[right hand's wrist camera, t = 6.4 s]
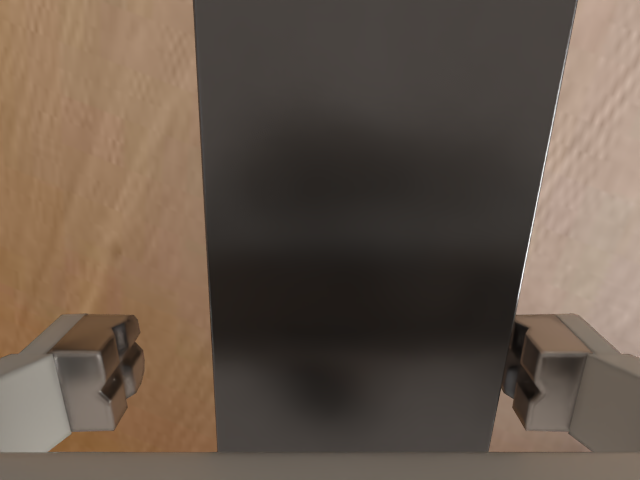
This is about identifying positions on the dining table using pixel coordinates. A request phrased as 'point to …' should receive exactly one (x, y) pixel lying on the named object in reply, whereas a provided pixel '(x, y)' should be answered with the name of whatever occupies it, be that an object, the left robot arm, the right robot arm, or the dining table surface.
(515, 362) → the right robot arm
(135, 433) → the dining table surface
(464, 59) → the bar
